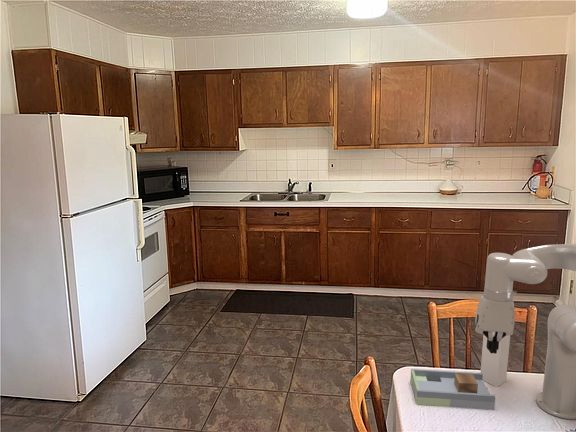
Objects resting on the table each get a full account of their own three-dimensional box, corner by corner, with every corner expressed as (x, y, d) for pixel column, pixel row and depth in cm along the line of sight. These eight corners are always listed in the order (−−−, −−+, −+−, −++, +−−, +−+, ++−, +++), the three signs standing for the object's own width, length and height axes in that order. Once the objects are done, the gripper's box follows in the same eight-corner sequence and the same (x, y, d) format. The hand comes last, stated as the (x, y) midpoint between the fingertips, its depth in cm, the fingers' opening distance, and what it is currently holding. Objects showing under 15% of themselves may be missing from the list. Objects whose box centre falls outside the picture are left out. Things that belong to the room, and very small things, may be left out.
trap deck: (480, 385, 143) (482, 373, 142) (494, 409, 130) (495, 396, 130) (410, 381, 146) (411, 368, 145) (416, 404, 133) (417, 391, 132)
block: (472, 384, 139) (472, 374, 139) (477, 394, 134) (477, 384, 133) (454, 383, 140) (454, 373, 139) (458, 393, 135) (459, 382, 134)
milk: (497, 387, 142) (502, 323, 138) (479, 379, 147) (484, 317, 143) (506, 381, 146) (512, 319, 142) (488, 373, 151) (494, 313, 147)
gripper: (519, 291, 133) (513, 347, 137) (468, 288, 135) (463, 344, 138) (529, 300, 126) (522, 359, 129) (475, 297, 128) (470, 355, 131)
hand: (492, 351), depth 134 cm, fingers closed
